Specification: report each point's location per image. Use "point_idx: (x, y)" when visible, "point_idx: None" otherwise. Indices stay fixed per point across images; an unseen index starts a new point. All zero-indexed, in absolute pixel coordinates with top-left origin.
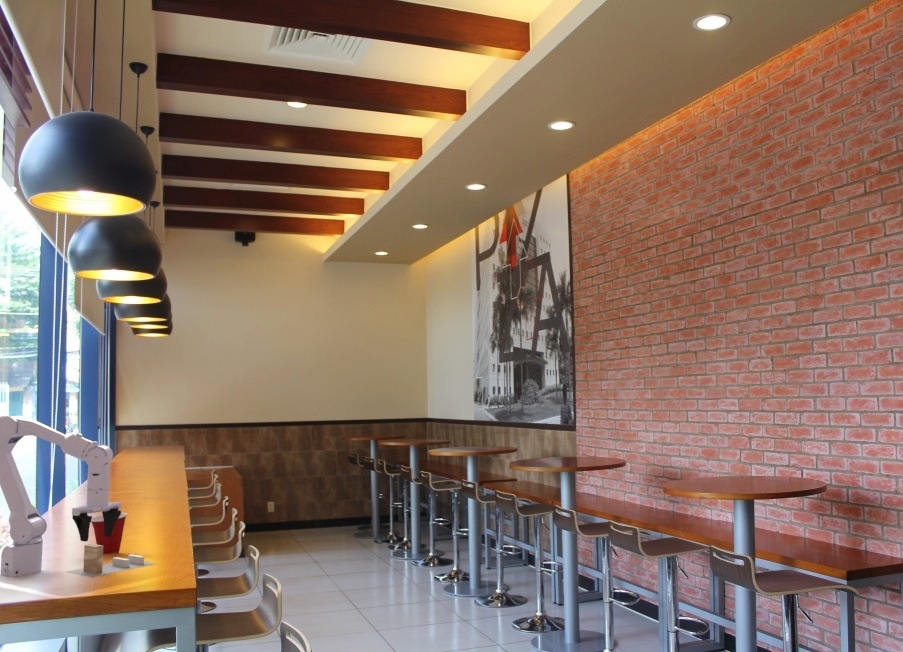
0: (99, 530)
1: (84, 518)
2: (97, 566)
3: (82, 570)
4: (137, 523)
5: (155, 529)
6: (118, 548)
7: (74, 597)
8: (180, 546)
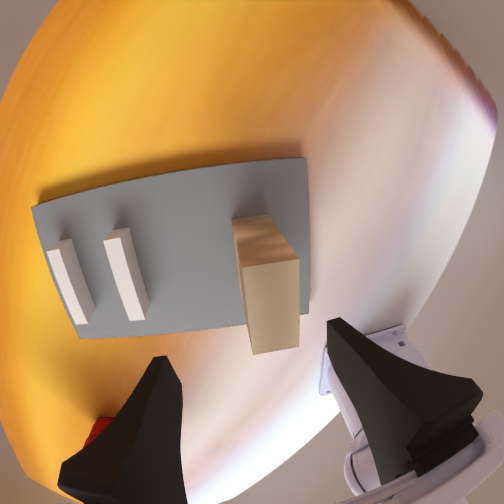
0: None
1: (476, 385)
2: (258, 223)
3: None
4: None
5: (43, 465)
6: (95, 426)
7: (422, 26)
8: None
